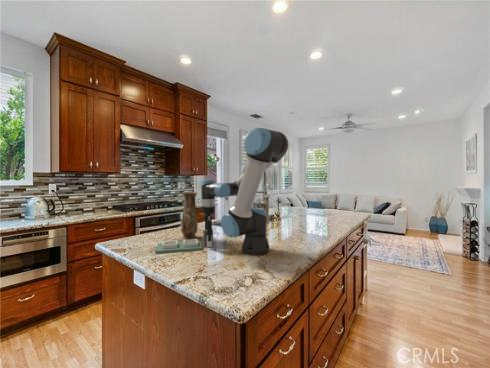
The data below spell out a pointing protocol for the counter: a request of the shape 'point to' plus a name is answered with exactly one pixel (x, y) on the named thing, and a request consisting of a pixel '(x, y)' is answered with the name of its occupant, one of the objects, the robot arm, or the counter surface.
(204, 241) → the plug
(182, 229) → the vase
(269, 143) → the robot arm
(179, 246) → the board
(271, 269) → the counter surface
